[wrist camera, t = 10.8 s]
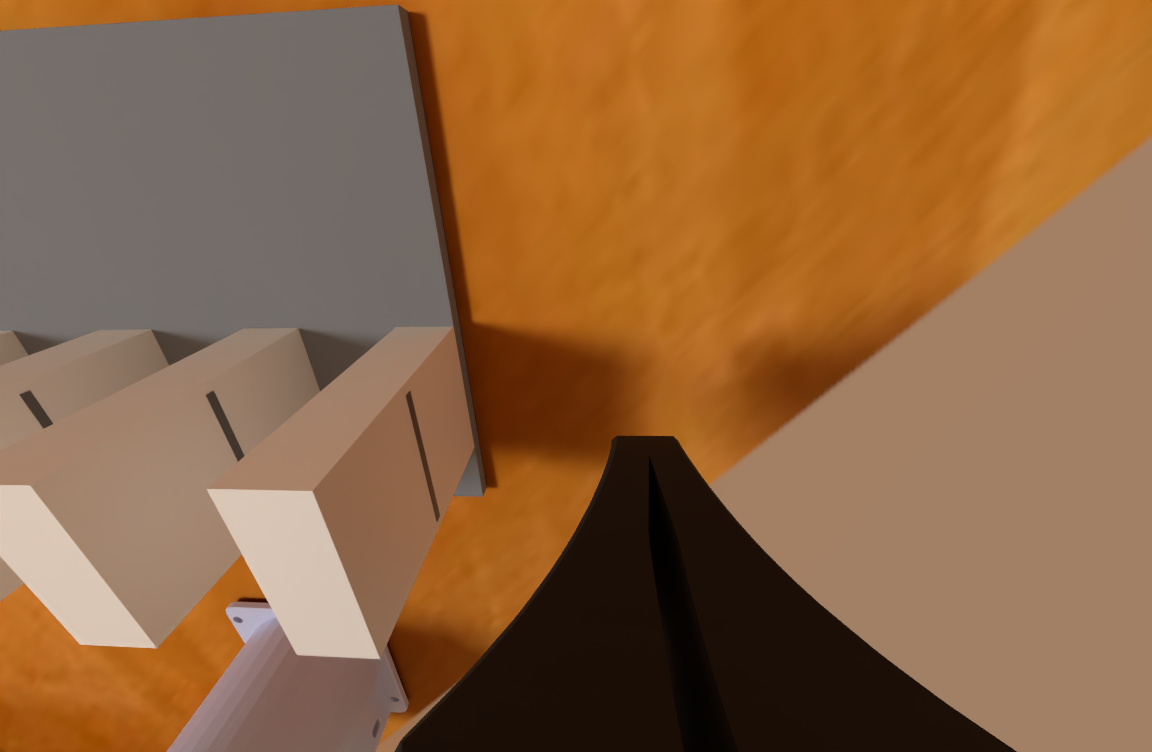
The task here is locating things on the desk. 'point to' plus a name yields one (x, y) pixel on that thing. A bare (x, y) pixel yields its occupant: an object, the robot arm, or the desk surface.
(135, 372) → the domino
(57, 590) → the domino
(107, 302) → the mat
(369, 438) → the domino
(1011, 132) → the desk surface
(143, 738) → the desk surface
